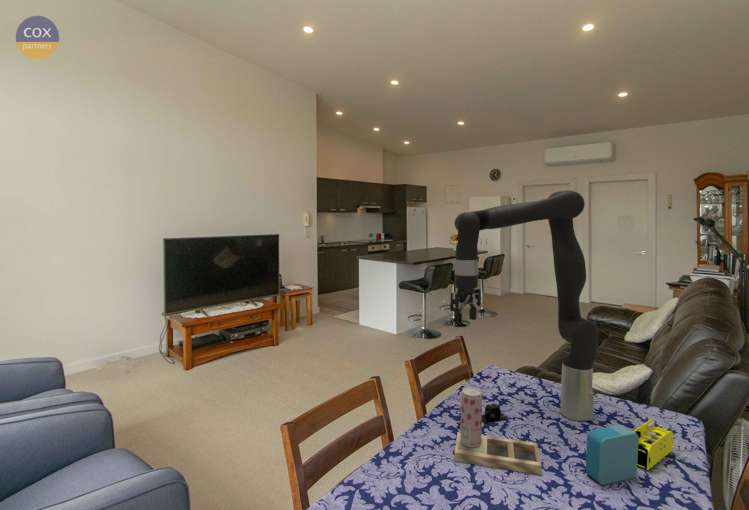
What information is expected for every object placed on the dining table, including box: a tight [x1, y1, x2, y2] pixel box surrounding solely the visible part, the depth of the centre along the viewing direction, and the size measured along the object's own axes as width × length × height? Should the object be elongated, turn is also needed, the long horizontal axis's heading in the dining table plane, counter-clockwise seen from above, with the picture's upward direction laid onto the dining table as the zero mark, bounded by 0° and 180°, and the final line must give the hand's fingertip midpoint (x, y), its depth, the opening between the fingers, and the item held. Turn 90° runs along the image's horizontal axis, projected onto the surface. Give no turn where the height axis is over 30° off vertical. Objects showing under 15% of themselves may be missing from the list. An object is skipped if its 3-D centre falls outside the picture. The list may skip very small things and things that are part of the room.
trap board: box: [453, 431, 543, 476], centre depth 109 cm, size 22×11×3 cm, turn 74°
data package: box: [585, 424, 639, 486], centre depth 100 cm, size 12×4×12 cm, turn 106°
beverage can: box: [460, 387, 483, 448], centre depth 111 cm, size 6×6×15 cm
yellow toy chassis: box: [632, 418, 674, 471], centre depth 108 cm, size 16×6×8 cm, turn 124°
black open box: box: [482, 403, 510, 424], centre depth 131 cm, size 12×7×5 cm, turn 106°
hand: (465, 321), depth 131 cm, fingers open, 8 cm apart
